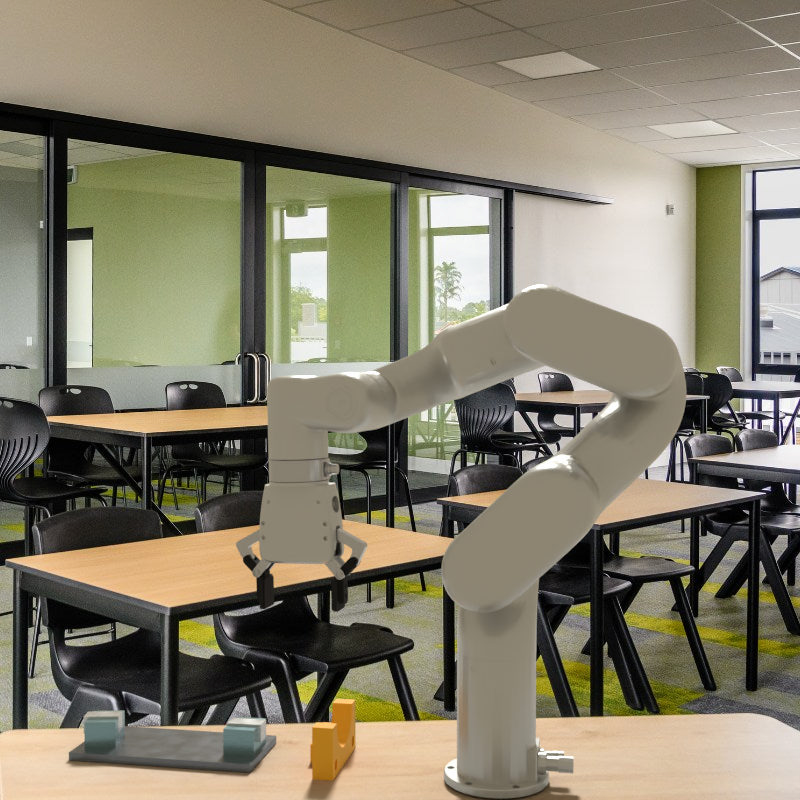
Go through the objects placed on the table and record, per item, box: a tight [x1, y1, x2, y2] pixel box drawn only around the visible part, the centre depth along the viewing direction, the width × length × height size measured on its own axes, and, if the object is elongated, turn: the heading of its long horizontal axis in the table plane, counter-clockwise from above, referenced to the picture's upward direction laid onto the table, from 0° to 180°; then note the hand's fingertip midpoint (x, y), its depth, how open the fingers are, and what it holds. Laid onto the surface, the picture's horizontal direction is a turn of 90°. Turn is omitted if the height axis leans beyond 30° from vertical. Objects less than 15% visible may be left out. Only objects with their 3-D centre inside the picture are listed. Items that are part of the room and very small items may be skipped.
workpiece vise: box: [68, 709, 277, 774], centre depth 140 cm, size 24×11×4 cm, turn 80°
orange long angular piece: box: [310, 698, 357, 782], centre depth 136 cm, size 12×4×6 cm, turn 169°
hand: (302, 608), depth 136 cm, fingers open, 9 cm apart
